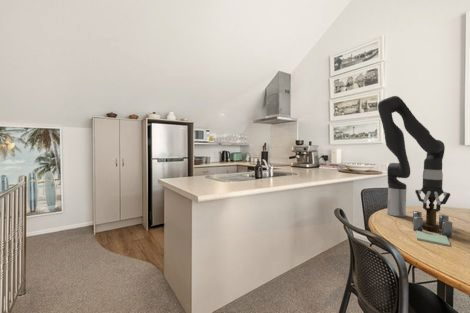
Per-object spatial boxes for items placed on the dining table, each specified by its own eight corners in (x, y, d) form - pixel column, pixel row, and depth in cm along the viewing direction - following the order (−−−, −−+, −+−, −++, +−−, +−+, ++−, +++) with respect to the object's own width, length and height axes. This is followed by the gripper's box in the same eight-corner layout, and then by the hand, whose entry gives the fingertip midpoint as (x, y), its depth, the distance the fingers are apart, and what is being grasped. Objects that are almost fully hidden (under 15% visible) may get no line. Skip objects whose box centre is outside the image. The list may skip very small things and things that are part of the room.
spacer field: (413, 231, 109) (413, 217, 109) (412, 222, 121) (413, 210, 121) (452, 238, 100) (453, 223, 100) (447, 228, 112) (448, 215, 112)
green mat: (416, 239, 99) (417, 237, 99) (416, 231, 108) (416, 230, 108) (450, 246, 92) (450, 244, 92) (446, 237, 101) (446, 236, 101)
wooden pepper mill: (435, 228, 113) (436, 194, 112) (442, 232, 107) (443, 197, 106) (419, 226, 115) (420, 194, 114) (426, 231, 109) (427, 196, 108)
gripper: (414, 177, 111) (413, 209, 112) (453, 180, 102) (451, 215, 103) (414, 176, 117) (413, 206, 118) (450, 178, 108) (449, 211, 109)
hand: (431, 210), depth 111 cm, fingers closed on wooden pepper mill, 4 cm apart
